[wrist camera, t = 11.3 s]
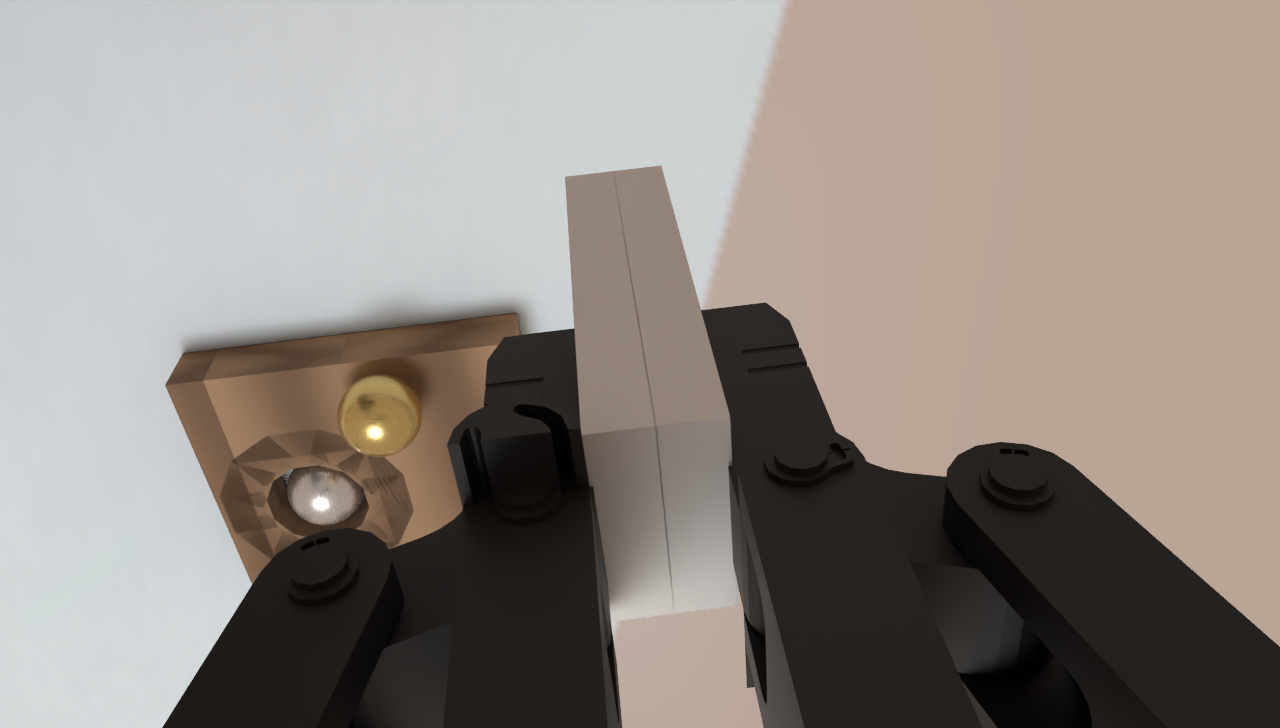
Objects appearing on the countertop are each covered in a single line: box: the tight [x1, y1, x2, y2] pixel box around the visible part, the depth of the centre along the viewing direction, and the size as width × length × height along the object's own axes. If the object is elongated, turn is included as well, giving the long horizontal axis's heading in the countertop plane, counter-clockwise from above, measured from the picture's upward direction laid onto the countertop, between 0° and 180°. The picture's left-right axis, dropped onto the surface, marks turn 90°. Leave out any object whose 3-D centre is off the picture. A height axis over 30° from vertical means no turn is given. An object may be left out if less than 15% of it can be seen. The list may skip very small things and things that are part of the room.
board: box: [165, 313, 521, 585], centre depth 47 cm, size 15×15×2 cm
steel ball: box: [287, 465, 364, 525], centre depth 47 cm, size 4×4×4 cm
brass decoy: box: [337, 374, 422, 457], centre depth 42 cm, size 4×4×4 cm
